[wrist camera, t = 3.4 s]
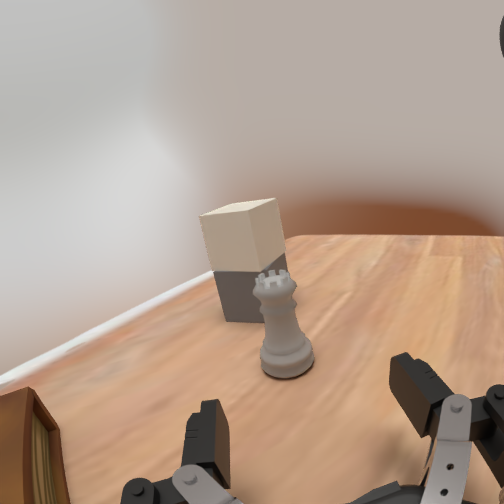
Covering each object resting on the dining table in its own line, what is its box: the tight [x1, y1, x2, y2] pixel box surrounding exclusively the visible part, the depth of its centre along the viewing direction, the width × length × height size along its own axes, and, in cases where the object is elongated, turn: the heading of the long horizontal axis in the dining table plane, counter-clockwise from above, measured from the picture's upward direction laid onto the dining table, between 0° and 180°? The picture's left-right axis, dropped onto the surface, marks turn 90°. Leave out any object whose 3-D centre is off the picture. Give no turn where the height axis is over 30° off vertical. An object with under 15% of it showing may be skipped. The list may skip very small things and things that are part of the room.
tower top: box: [199, 198, 286, 272], centre depth 32 cm, size 6×6×6 cm
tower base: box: [213, 252, 288, 323], centre depth 34 cm, size 6×6×6 cm
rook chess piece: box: [253, 269, 315, 379], centre depth 23 cm, size 4×4×8 cm
